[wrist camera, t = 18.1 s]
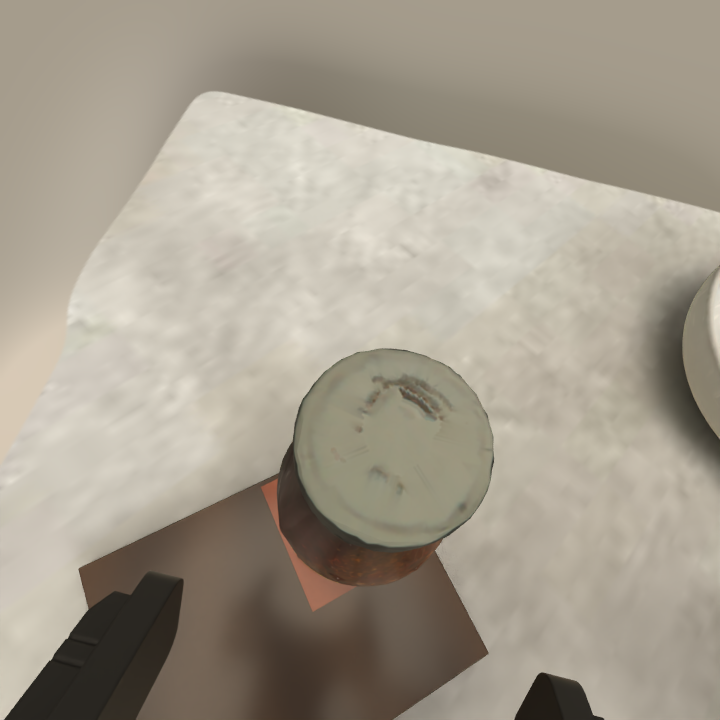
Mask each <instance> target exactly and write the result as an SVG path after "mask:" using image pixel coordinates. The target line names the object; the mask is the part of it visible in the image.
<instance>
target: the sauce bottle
mask: <svg viewBox="0 0 720 720" xmlns="http://www.w3.org/2000/svg"><path fill="white" fill-rule="evenodd" d="M493 463H494V453H493V434H492V431H491V427H490V424H489V420H488V416H487V414H486V412H485V410H484V409H483V407H482V405H481V403H480V401H479V399H478V397H477V395H476V393H475V392H474V391H473V390H472V389H471V388H470V387H469V386H468V385H467V383H466V382H465V381H464V380H463V379H462V377H461V376H460V375H458V374H457V373H455V372H454V371H453V370H452V369H451V368H450V367H448V366H446V365H445V364H443V363H441V362H439V361H436V360H433V359H431V358H429V357H427V356H425V355H421V354H417V353H414V352H410V351H407V350H399V349H376V350H371V351H365V352H357V353H355V354H353V355H351V356H349V357H346V358H344V359H341V360H340V361H339V362H337V363H336V364H334V365H333V366H332V367H331V368H329V369H328V370H327V371H325V372H324V373H323V374H322V375H321V377H320V378H319V379H318V380H317V381H316V382H315V383H314V384H313V386H312V387H311V389H310V390H309V392H308V393H307V395H306V396H305V397H304V398H303V400H302V402H301V404H300V407H299V410H298V414H297V418H296V421H295V427H294V435H293V442H292V443H291V445H290V446H289V448H288V450H287V452H286V454H285V456H284V458H283V461H282V465H281V468H280V472H279V476H278V483H277V504H278V514H279V527H280V530H281V532H282V534H283V535H284V537H285V538H286V539H287V541H288V542H289V544H290V545H291V547H292V548H293V550H294V552H295V553H296V554H297V557H298V558H299V559H301V560H302V561H303V562H304V563H305V564H306V565H307V566H308V567H309V568H311V569H312V570H313V571H315V572H316V573H318V574H319V575H321V576H323V577H325V578H327V579H329V580H332V581H334V582H337V583H341V584H345V585H351V586H377V585H386V584H389V583H392V582H395V581H398V580H400V579H401V578H403V577H406V576H408V575H409V574H410V573H412V572H414V571H416V570H418V569H419V567H420V566H421V565H422V564H423V563H424V562H426V560H427V559H429V557H430V556H431V554H432V553H433V552H434V551H435V550H436V548H437V547H438V546H439V544H440V543H441V541H442V539H443V538H445V537H447V536H449V535H450V534H451V533H453V532H454V531H455V530H456V529H458V528H459V527H460V526H461V525H463V524H464V523H465V522H466V521H468V520H469V519H470V518H471V517H472V515H473V514H474V513H475V511H476V510H477V508H478V507H479V506H480V504H481V502H482V500H483V498H484V496H485V494H486V492H487V490H488V487H489V484H490V480H491V473H492V467H493Z"/></svg>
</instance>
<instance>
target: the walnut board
mask: <svg viewBox="0 0 720 720" xmlns="http://www.w3.org/2000/svg"><path fill="white" fill-rule="evenodd" d="M278 476H279V473H278V474H276V475H274V476H272V477H270V478H268V479H266V480H264V481H261V482H259V483H257V484H255V485H253V486H251V487H249V488H247V489H245V490H243V491H240V492H238V493H236V494H234V495H232V496H230V497H228V498H226V499H224V500H222V501H219V502H217V503H215V504H213V505H211V506H209V507H207V508H205V509H203V510H200V511H198V512H196V513H194V514H192V515H190V516H188V517H186V518H184V519H182V520H179V521H177V522H175V523H173V524H171V525H169V526H167V527H165V528H163V529H161V530H158V531H156V532H154V533H152V534H150V535H148V536H146V537H144V538H142V539H140V540H137V541H135V542H133V543H131V544H129V545H127V546H125V547H123V548H121V549H119V550H116V551H114V552H112V553H110V554H108V555H106V556H104V557H102V558H100V559H97V560H95V561H93V562H91V563H89V564H87V565H85V566H83V567H81V568H79V573H80V577H81V581H82V585H83V589H84V592H85V596H86V600H87V604H88V608H89V609H90V608H91V607H93V606H94V605H95V604H97V603H98V602H100V601H101V600H102V599H104V598H105V597H106V596H108V595H109V594H111V593H112V592H113V591H117V592H121V593H125V594H129V595H131V594H132V593H133V591H134V590H135V588H136V587H137V585H138V584H139V582H140V581H141V579H142V578H143V577H144V575H145V574H146V573H147V572H148V571H155V572H159V573H163V574H167V575H171V576H175V577H179V578H183V580H184V586H183V593H182V600H181V608H180V615H179V622H178V629H177V633H176V636H175V639H174V642H173V645H172V648H171V650H170V653H169V655H168V657H167V659H166V661H165V663H164V665H163V667H162V669H161V671H160V673H159V675H158V677H157V679H156V681H155V683H154V685H153V687H152V689H151V690H150V692H149V694H148V696H147V698H146V700H145V702H144V704H143V706H142V708H141V710H140V712H139V714H138V716H137V718H136V720H393V719H394V718H396V717H397V716H399V715H400V714H402V713H403V712H405V711H406V710H407V709H409V708H410V707H412V706H413V705H415V704H416V703H418V702H419V701H421V700H422V699H423V698H425V697H426V696H428V695H429V694H431V693H432V692H434V691H435V690H437V689H438V688H439V687H441V686H442V685H444V684H445V683H447V682H448V681H450V680H451V679H453V678H454V677H455V676H457V675H458V674H460V673H461V672H463V671H464V670H466V669H467V668H469V667H470V666H471V665H473V664H474V663H476V662H477V661H479V660H480V659H482V658H483V657H485V656H486V655H487V654H488V651H487V649H486V647H485V645H484V643H483V641H482V640H481V638H480V636H479V634H478V632H477V630H476V628H475V626H474V624H473V622H472V620H471V619H470V617H469V615H468V613H467V611H466V609H465V607H464V605H463V603H462V601H461V600H460V598H459V596H458V594H457V592H456V590H455V588H454V586H453V584H452V582H451V580H450V579H449V577H448V575H447V573H446V571H445V569H444V567H443V565H442V563H441V561H440V560H439V558H438V556H437V554H436V552H435V551H434V552H433V553H432V554H431V556H430V557H429V559H427V560H426V562H424V563H423V564H422V565H421V566H420V567H419V569H418V570H416V571H414V572H412V573H410V574H409V575H408V576H406V577H403V578H401V579H400V580H398V581H395V582H392V583H389V584H386V585H377V586H351V585H345V584H341V583H337V582H334V581H332V580H329V579H327V578H325V577H323V576H321V575H319V574H318V573H316V572H315V571H313V570H312V569H311V568H309V567H308V566H307V565H306V564H305V563H304V562H303V561H302V560H301V559H299V558H298V557H297V554H296V553H295V552H294V550H293V548H292V547H291V545H290V544H289V542H288V541H287V539H286V538H285V537H284V535H283V534H282V532H281V530H280V527H279V514H278V504H277V483H278Z"/></svg>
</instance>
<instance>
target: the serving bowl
mask: <svg viewBox="0 0 720 720" xmlns="http://www.w3.org/2000/svg"><path fill="white" fill-rule="evenodd" d="M682 349H683V361H684V368H685V372H686V376H687V380H688V383H689V386H690V389H691V392H692V394H693V397H694V399H695V401H696V403H697V405H698V407H699V409H700V411H701V412H702V414H703V416H704V417H705V419H706V421H707V422H708V424H709V425H710V427H711V428H712V430H713V431H714V432H715V434H716V435H717V436H718V438H719V439H720V265H719V266H718V267H717V268H716V269H715V270H714V271H713V272H712V274H711V275H710V276H709V277H708V278H707V279H706V281H705V282H704V283H703V285H702V286H701V288H700V289H699V291H698V292H697V294H696V296H695V298H694V299H693V301H692V304H691V306H690V308H689V311H688V314H687V317H686V321H685V325H684V331H683V346H682Z"/></svg>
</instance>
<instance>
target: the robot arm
mask: <svg viewBox="0 0 720 720" xmlns="http://www.w3.org/2000/svg"><path fill="white" fill-rule="evenodd" d="M183 586H184V580H183V578H179V577H175V576H171V575H167V574H163V573H159V572H155V571H148V572H147V573H146V574H145V575H144V577H143V578H142V579H141V581H140V582H139V584H138V585H137V587H136V588H135V590H134V591H133V593H132V594H131V595H129V594H125V593H121V592H117V591H113V592H112V593H111V594H109V595H108V596H106V597H105V598H104V599H102V600H101V601H100V602H98V603H97V604H95V605H94V606H93V607H91V608H90V609H89V610H88V611H87V612H86V614H85V615H84V616H83V617H82V619H81V620H80V621H79V623H78V624H77V625H76V627H75V628H74V629H73V631H72V632H71V633H70V636H69V638H68V639H66V640H65V641H64V642H63V644H62V645H61V646H60V648H59V649H58V650H57V651H56V653H55V654H54V656H53V658H52V660H51V661H49V662H48V663H47V664H46V666H45V667H44V668H43V670H42V671H41V672H40V674H39V675H38V676H37V678H36V679H35V680H34V681H33V683H32V684H31V685H30V687H29V688H28V689H27V691H26V692H25V693H24V694H23V696H22V697H21V698H20V700H19V701H18V702H17V704H16V705H15V706H14V708H13V709H12V710H11V711H10V713H9V714H8V715H7V717H6V718H5V719H4V720H136V718H137V716H138V714H139V712H140V710H141V708H142V706H143V704H144V702H145V700H146V698H147V696H148V694H149V692H150V690H151V689H152V687H153V685H154V683H155V681H156V679H157V677H158V675H159V673H160V671H161V669H162V667H163V665H164V663H165V661H166V659H167V657H168V655H169V653H170V650H171V648H172V645H173V642H174V639H175V636H176V633H177V629H178V622H179V615H180V608H181V600H182V593H183ZM515 720H604V719H603V718H601V717H597V716H594V715H593V713H592V711H591V708H590V705H589V703H588V700H587V697H586V695H585V692H584V690H583V688H582V686H581V685H580V684H579V683H578V682H577V681H574V680H570V679H566V678H562V677H559V676H555V675H551V674H547V673H539V674H538V676H537V677H536V679H535V681H534V683H533V684H532V686H531V688H530V690H529V692H528V694H527V695H526V697H525V699H524V701H523V703H522V705H521V707H520V708H519V710H518V712H517V714H516V716H515Z"/></svg>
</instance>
